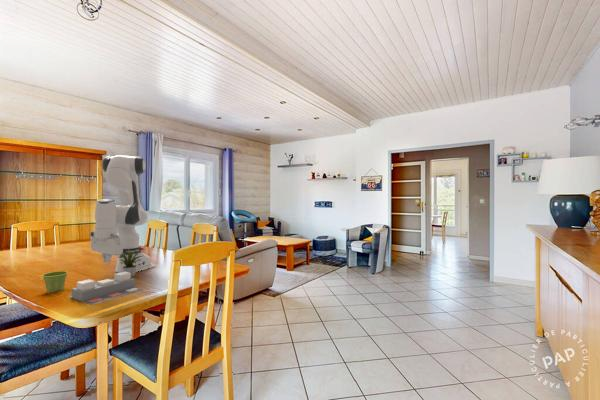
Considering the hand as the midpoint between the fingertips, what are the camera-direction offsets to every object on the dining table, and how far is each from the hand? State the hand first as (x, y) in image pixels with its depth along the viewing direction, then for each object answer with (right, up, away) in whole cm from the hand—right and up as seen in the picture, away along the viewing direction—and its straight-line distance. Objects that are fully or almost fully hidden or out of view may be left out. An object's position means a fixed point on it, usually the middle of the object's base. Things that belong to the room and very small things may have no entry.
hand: (106, 262), depth 133 cm
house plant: (-6, -15, +26) cm, 31 cm away
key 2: (+3, -12, +7) cm, 14 cm away
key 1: (-4, -12, -7) cm, 15 cm away
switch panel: (+1, -15, -1) cm, 15 cm away
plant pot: (-27, -15, +2) cm, 30 cm away
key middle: (-1, -14, 0) cm, 14 cm away
